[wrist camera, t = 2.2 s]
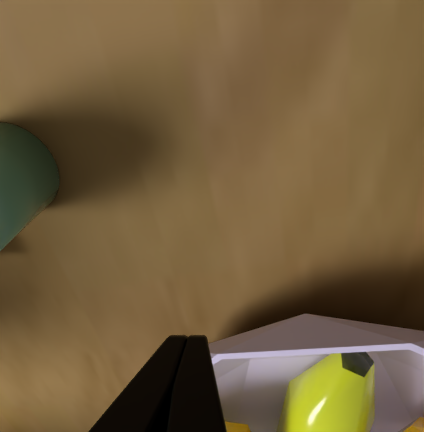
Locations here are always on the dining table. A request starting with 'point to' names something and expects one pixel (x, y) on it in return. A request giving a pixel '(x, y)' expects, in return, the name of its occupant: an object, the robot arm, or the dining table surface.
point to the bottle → (23, 180)
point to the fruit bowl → (321, 377)
